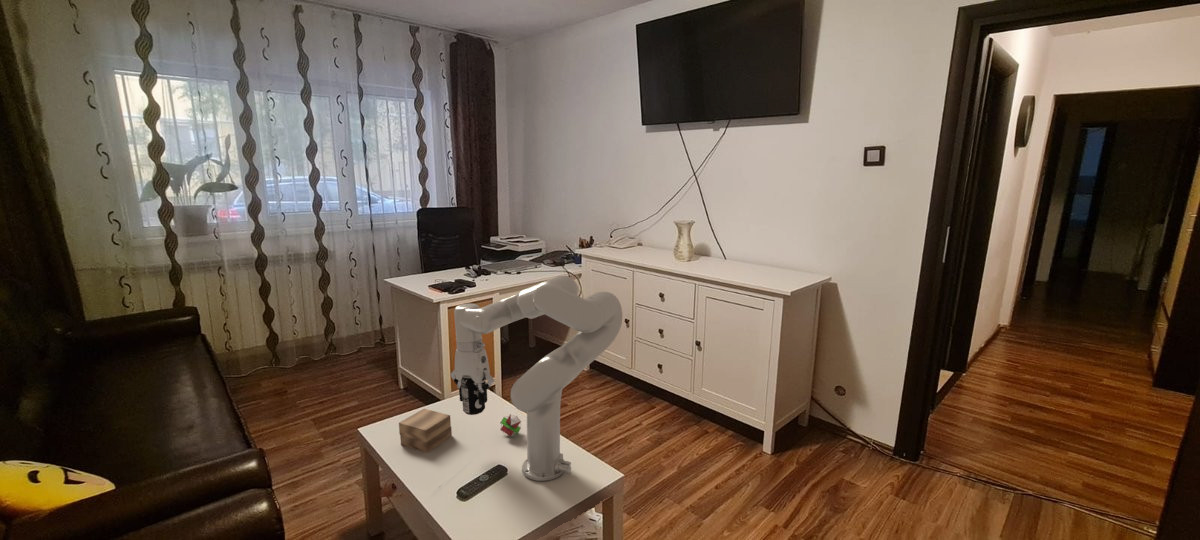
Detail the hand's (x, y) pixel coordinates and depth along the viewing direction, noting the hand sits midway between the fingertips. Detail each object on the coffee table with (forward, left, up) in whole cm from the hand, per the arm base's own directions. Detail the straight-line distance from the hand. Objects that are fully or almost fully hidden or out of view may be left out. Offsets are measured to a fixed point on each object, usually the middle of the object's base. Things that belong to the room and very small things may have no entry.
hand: (473, 400), depth 155 cm
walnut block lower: (+18, +2, -17) cm, 25 cm away
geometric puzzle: (-5, -12, -17) cm, 21 cm away
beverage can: (0, 0, -3) cm, 3 cm away
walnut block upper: (+18, +2, -13) cm, 22 cm away
